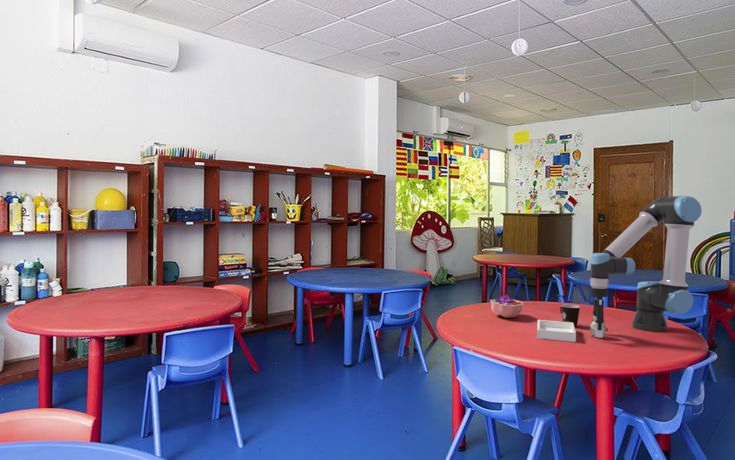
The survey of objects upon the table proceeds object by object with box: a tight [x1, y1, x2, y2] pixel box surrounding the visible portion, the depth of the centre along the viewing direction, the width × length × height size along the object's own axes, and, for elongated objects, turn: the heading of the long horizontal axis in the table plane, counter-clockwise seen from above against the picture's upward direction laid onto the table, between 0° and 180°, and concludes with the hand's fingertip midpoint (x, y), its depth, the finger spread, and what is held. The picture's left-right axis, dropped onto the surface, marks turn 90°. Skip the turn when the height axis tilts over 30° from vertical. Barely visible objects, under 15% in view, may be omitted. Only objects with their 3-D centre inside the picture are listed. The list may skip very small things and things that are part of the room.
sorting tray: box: [536, 319, 577, 343], centre depth 226 cm, size 16×21×4 cm
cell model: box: [489, 294, 524, 319], centre depth 262 cm, size 17×20×11 cm
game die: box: [587, 318, 609, 339], centre depth 222 cm, size 9×8×10 cm
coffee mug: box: [559, 303, 581, 329], centre depth 244 cm, size 12×9×10 cm
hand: (597, 333), depth 222 cm, fingers open, 13 cm apart
